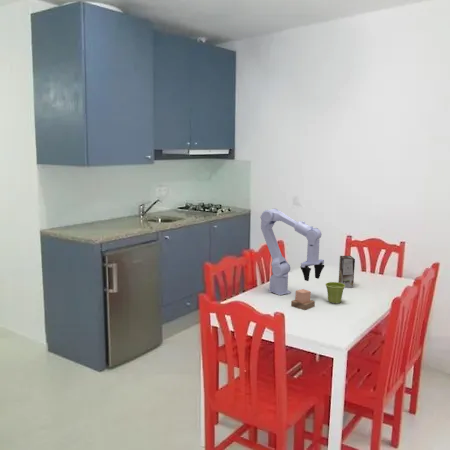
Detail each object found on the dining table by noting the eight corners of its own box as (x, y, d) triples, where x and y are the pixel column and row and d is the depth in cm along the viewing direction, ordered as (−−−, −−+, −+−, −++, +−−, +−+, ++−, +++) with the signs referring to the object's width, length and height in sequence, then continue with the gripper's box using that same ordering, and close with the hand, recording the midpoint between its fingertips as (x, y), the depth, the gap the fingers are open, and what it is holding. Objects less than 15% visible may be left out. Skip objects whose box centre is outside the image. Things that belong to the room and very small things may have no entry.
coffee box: (353, 288, 250) (355, 259, 247) (341, 287, 250) (343, 258, 248) (349, 283, 259) (351, 255, 256) (338, 283, 259) (339, 255, 257)
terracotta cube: (295, 300, 220) (295, 290, 219) (302, 298, 222) (303, 289, 222) (302, 303, 215) (303, 293, 215) (310, 301, 218) (310, 291, 218)
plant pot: (330, 305, 221) (331, 288, 220) (321, 299, 230) (322, 282, 229) (347, 303, 224) (348, 286, 222) (338, 298, 233) (339, 281, 231)
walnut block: (291, 307, 219) (291, 301, 219) (300, 303, 225) (300, 297, 225) (305, 311, 214) (305, 305, 214) (314, 307, 220) (314, 301, 219)
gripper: (308, 256, 220) (307, 283, 222) (329, 252, 229) (327, 278, 231) (298, 253, 226) (297, 280, 228) (318, 250, 234) (317, 275, 236)
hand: (311, 279), depth 230 cm, fingers open, 7 cm apart
